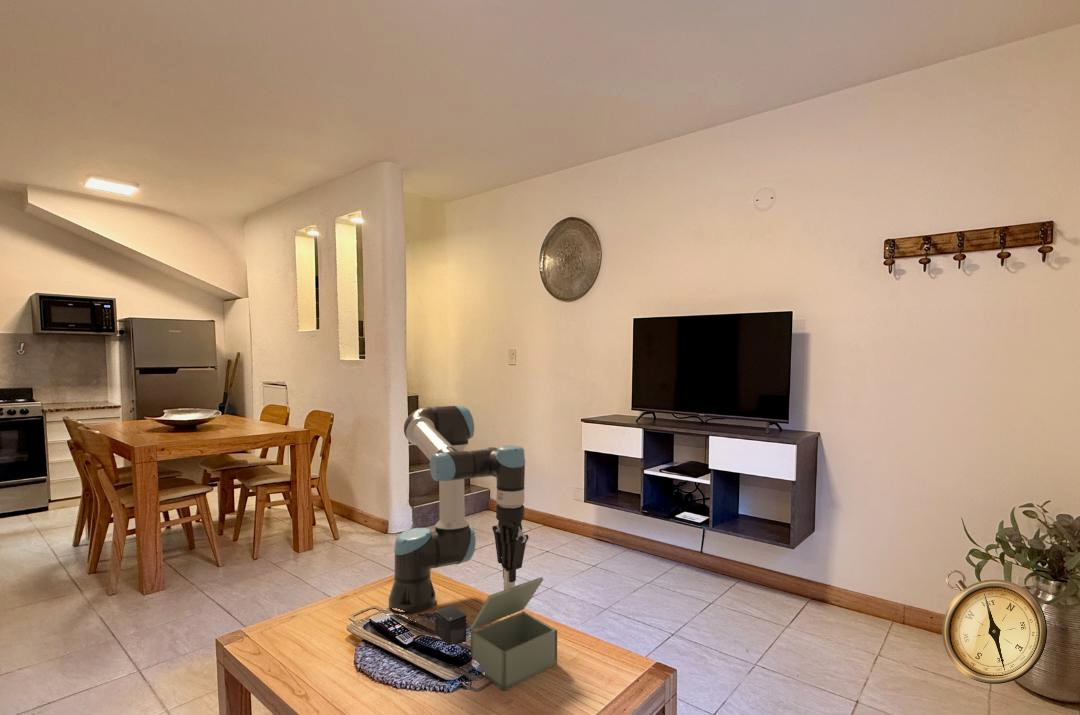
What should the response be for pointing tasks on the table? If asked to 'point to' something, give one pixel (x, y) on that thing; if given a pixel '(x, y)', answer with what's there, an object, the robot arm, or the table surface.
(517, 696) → the table surface
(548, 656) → the carton
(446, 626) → the box
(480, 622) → the lid
